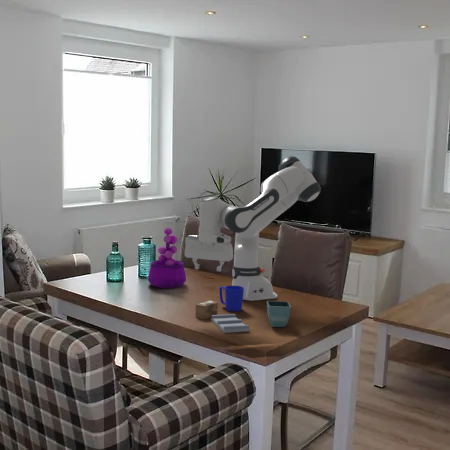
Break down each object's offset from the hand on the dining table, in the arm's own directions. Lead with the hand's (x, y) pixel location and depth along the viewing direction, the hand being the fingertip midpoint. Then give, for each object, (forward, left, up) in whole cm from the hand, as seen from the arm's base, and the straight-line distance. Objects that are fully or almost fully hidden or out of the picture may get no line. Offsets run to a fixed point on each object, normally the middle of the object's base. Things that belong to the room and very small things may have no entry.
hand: (208, 270), depth 256 cm
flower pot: (-24, +19, -20) cm, 36 cm away
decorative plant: (+5, -53, -20) cm, 57 cm away
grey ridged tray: (-5, +16, -19) cm, 25 cm away
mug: (-13, -8, -20) cm, 25 cm away
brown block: (0, 0, -20) cm, 20 cm away
